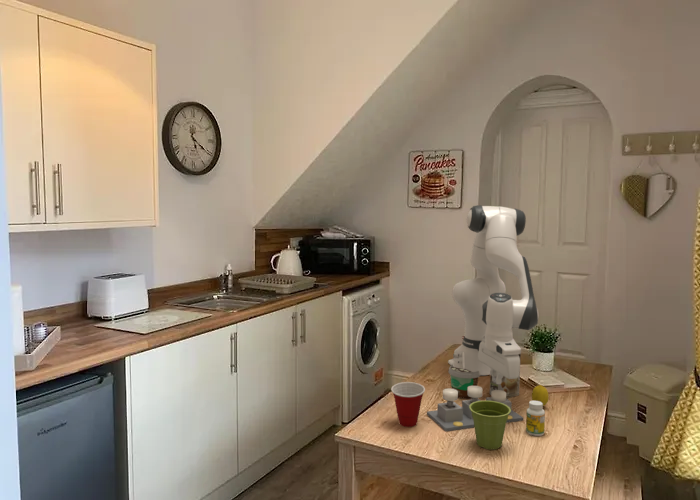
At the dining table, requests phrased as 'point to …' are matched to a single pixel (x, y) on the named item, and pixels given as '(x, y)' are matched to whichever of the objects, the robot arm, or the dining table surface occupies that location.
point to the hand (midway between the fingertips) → (496, 382)
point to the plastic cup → (408, 402)
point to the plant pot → (489, 422)
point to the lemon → (540, 394)
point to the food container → (462, 380)
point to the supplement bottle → (535, 419)
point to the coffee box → (506, 385)
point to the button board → (463, 415)
